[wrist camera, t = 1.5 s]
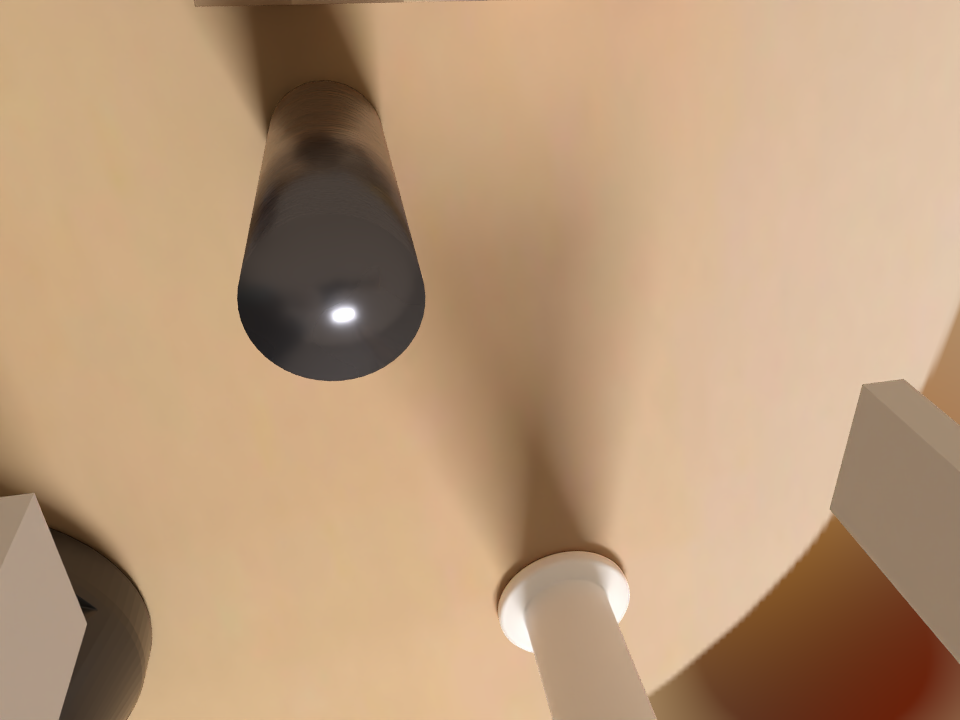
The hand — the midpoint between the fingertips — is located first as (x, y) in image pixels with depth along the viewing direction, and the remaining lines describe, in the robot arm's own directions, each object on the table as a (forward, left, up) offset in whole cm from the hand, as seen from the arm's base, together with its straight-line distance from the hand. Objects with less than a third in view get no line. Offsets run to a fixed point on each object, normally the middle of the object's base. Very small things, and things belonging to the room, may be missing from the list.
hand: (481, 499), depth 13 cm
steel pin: (-2, +1, -19) cm, 19 cm away
